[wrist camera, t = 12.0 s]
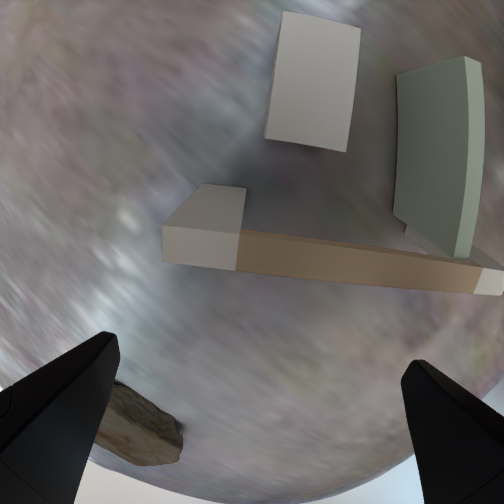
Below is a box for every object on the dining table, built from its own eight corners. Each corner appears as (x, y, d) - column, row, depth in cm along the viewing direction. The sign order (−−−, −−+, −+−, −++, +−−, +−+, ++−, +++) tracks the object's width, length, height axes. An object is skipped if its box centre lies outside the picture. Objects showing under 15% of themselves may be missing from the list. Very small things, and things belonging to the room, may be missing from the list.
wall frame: (437, 221, 19) (510, 272, 11) (432, 239, 20) (501, 295, 12) (203, 183, 19) (162, 225, 10) (201, 205, 19) (161, 261, 11)
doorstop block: (336, 51, 15) (360, 28, 10) (323, 147, 18) (345, 152, 13) (276, 39, 15) (283, 11, 10) (262, 137, 18) (265, 138, 13)
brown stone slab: (54, 392, 30) (42, 412, 26) (94, 355, 26) (78, 382, 22) (144, 453, 35) (138, 474, 31) (206, 432, 31) (202, 460, 27)
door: (419, 215, 19) (482, 257, 12) (392, 214, 19) (452, 258, 12) (424, 81, 15) (495, 70, 8) (396, 75, 15) (464, 55, 8)
